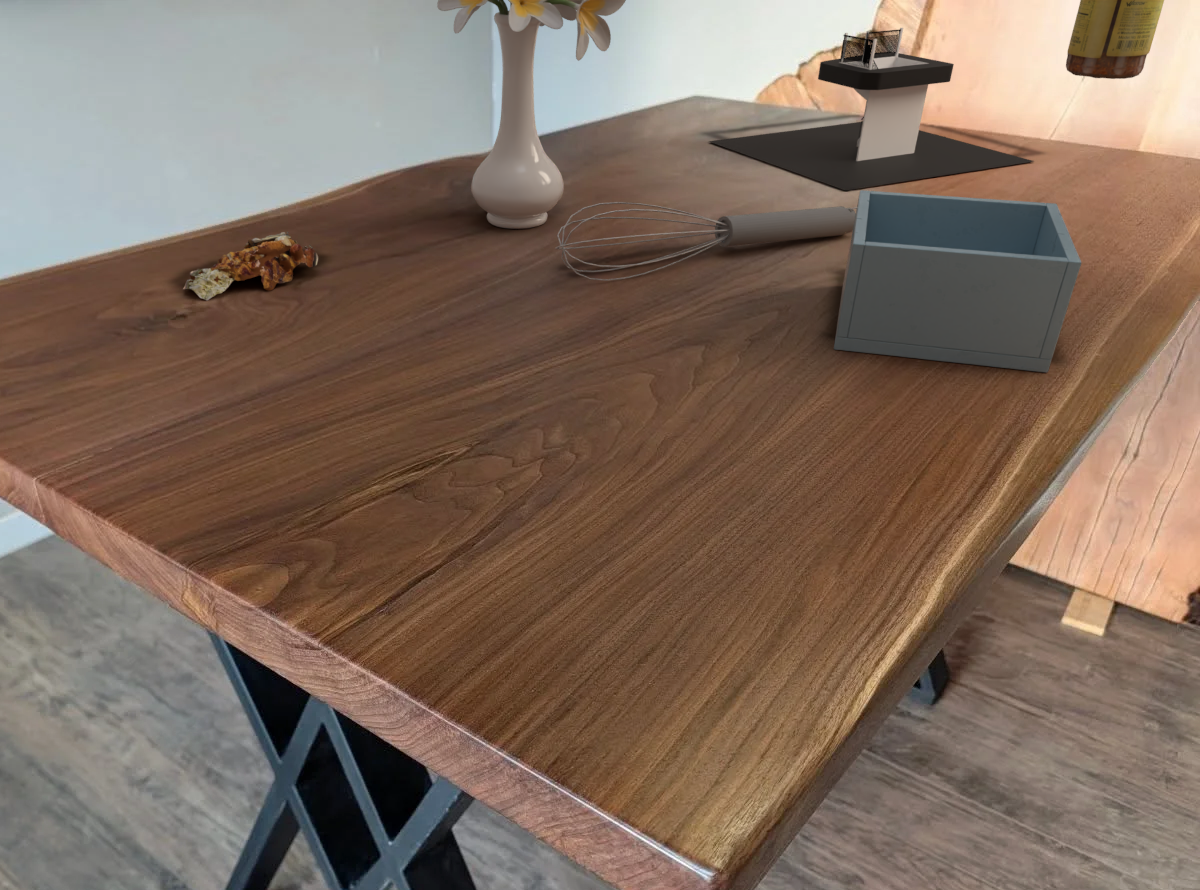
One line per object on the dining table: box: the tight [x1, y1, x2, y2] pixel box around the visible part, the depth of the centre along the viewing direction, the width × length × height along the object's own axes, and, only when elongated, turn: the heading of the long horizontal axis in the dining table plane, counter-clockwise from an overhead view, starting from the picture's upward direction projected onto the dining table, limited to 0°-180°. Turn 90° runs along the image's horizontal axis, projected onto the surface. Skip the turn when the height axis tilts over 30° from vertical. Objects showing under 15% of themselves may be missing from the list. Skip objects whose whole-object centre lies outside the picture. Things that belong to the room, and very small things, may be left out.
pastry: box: [182, 231, 319, 301], centre depth 92 cm, size 7×12×4 cm, turn 137°
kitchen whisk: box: [554, 201, 857, 282], centre depth 95 cm, size 6×34×6 cm, turn 115°
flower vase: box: [436, 0, 627, 230], centre depth 100 cm, size 13×18×25 cm
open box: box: [833, 189, 1082, 374], centre depth 80 cm, size 15×15×8 cm
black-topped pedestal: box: [708, 27, 1035, 191], centre depth 125 cm, size 28×26×13 cm
